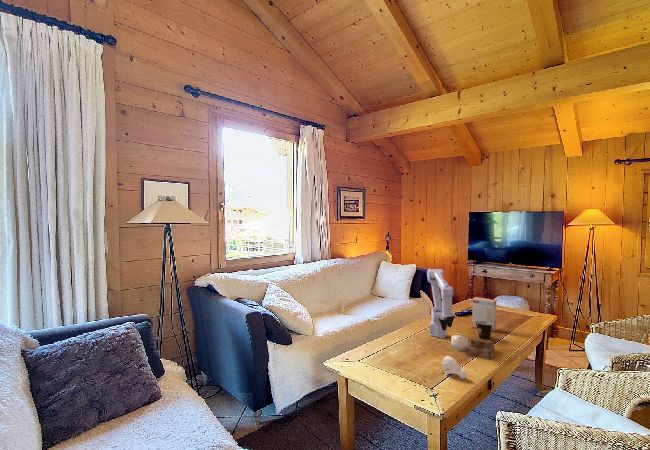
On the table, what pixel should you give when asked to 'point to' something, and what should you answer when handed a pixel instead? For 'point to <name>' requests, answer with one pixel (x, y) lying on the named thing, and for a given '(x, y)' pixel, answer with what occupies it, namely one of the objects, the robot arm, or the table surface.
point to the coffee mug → (484, 329)
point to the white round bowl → (459, 343)
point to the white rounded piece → (453, 367)
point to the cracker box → (484, 311)
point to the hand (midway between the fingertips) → (446, 328)
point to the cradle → (480, 352)
